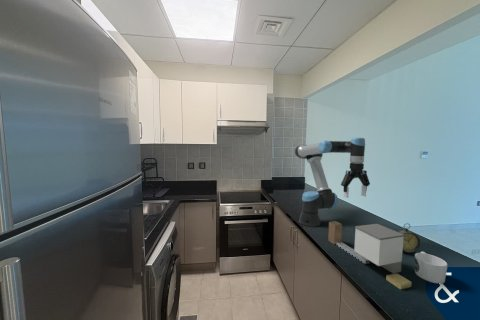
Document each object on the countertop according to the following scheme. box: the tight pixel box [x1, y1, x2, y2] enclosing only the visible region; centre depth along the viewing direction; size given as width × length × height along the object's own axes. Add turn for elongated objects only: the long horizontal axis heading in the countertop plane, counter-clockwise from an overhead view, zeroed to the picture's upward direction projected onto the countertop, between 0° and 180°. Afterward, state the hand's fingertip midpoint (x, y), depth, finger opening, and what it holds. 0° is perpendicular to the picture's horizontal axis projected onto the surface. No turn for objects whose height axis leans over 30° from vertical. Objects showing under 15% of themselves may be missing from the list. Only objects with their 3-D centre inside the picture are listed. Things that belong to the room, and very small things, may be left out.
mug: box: [414, 251, 448, 284], centre depth 90 cm, size 13×10×8 cm
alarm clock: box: [398, 222, 421, 254], centre depth 109 cm, size 11×5×16 cm, turn 83°
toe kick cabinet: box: [353, 223, 404, 274], centre depth 96 cm, size 13×14×18 cm
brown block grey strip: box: [327, 220, 371, 265], centre depth 110 cm, size 25×5×12 cm, turn 16°
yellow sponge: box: [385, 272, 413, 290], centre depth 84 cm, size 6×6×2 cm
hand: (354, 196), depth 124 cm, fingers open, 13 cm apart
